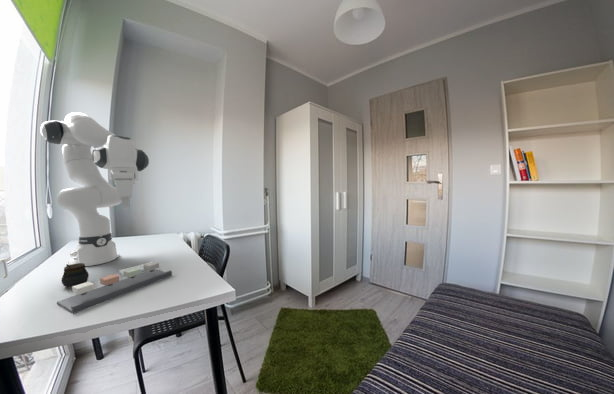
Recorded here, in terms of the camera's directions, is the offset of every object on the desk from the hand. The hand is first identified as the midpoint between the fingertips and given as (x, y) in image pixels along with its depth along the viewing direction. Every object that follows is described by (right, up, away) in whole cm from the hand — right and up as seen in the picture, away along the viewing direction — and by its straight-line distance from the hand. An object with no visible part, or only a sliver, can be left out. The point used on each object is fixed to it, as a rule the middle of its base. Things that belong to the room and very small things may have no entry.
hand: (126, 209), depth 85 cm
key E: (+1, -28, -8) cm, 29 cm away
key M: (+7, -27, +4) cm, 28 cm away
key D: (+4, -27, -2) cm, 28 cm away
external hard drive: (-6, -30, +13) cm, 33 cm away
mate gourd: (-18, -30, -2) cm, 36 cm away
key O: (-2, -28, -15) cm, 32 cm away
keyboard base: (+3, -30, -5) cm, 31 cm away
